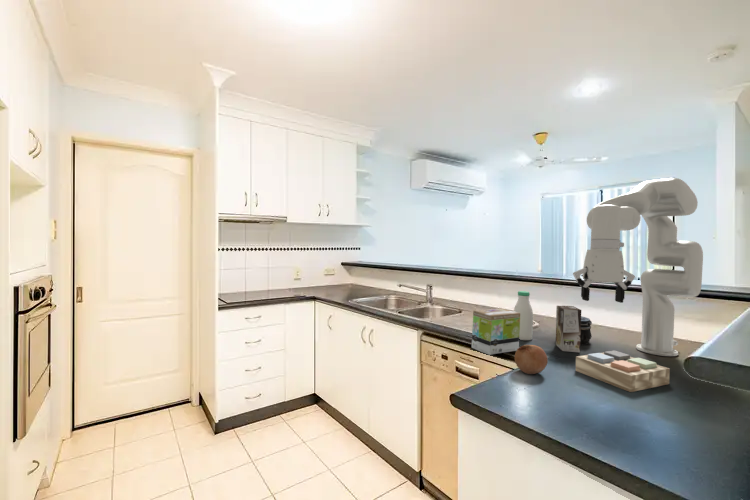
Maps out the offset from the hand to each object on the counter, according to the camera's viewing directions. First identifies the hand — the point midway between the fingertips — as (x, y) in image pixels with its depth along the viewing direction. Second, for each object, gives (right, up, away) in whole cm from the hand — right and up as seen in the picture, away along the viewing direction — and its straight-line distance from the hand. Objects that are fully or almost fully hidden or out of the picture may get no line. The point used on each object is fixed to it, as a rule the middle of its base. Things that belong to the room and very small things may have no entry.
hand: (602, 301), depth 109 cm
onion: (-21, -23, +2) cm, 31 cm away
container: (+13, -23, +39) cm, 47 cm away
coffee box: (+5, -23, +28) cm, 37 cm away
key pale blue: (0, -20, +2) cm, 20 cm away
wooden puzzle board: (+5, -23, 0) cm, 24 cm away
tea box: (-24, -22, +26) cm, 42 cm away
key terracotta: (+3, -21, -5) cm, 22 cm away
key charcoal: (+7, -20, +4) cm, 22 cm away
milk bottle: (-7, -22, +42) cm, 48 cm away
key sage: (+10, -21, -3) cm, 23 cm away
